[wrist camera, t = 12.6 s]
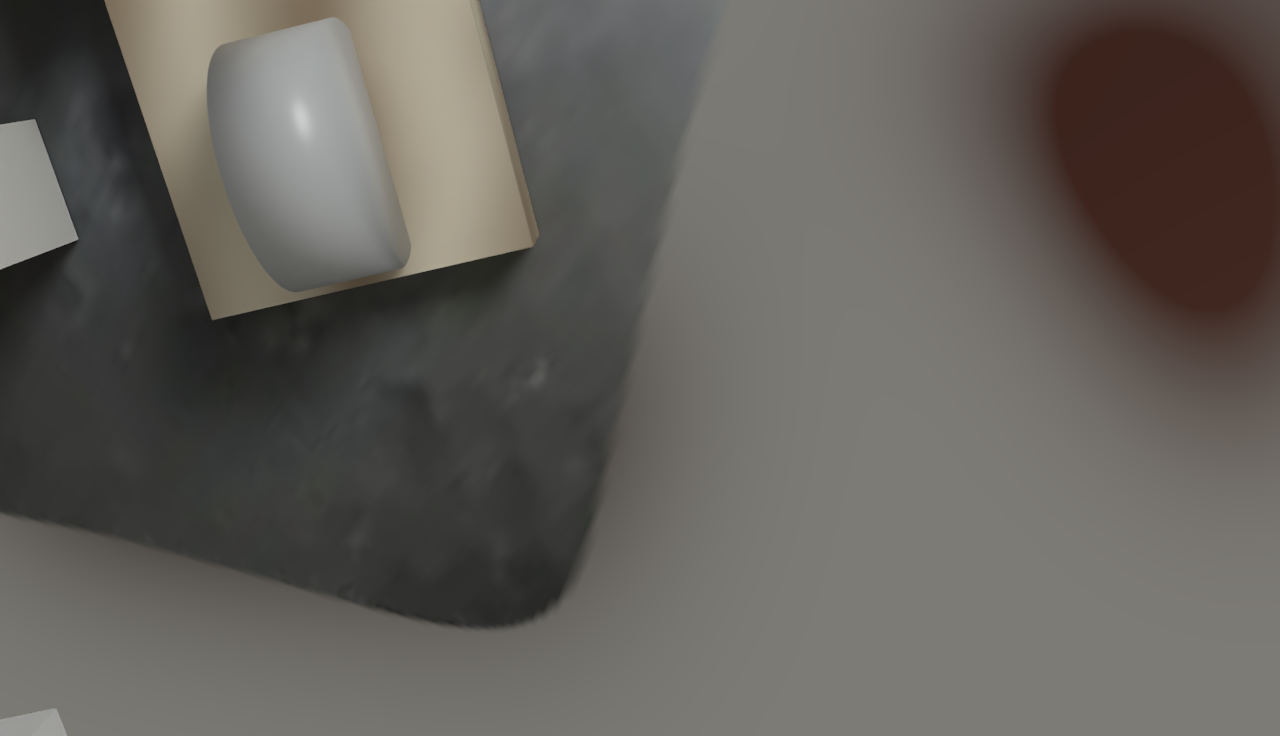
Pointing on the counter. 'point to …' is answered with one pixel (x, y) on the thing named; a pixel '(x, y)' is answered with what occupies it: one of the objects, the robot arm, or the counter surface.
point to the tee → (29, 197)
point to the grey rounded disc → (304, 157)
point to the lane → (404, 112)
